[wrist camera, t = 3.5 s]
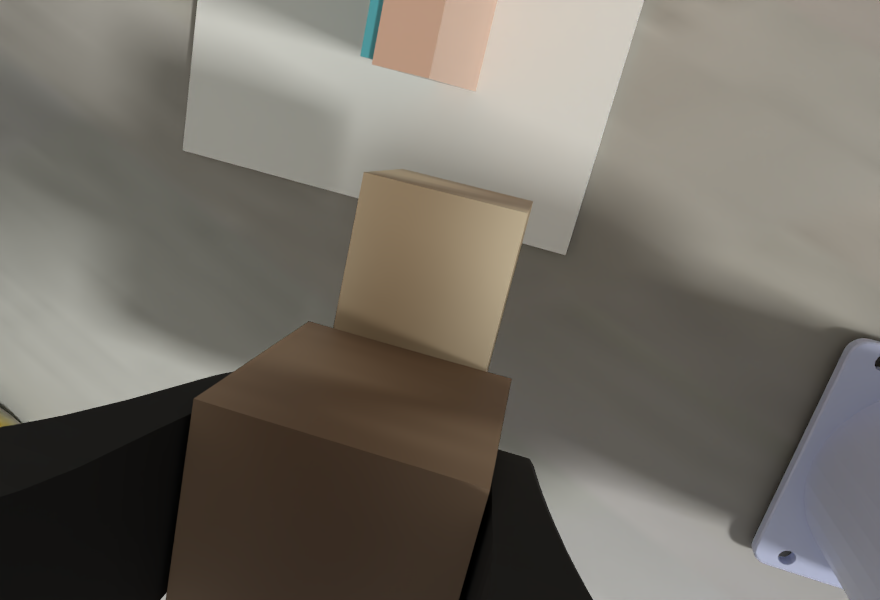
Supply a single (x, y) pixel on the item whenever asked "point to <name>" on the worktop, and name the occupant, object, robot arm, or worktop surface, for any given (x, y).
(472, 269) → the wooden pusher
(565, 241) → the rubber mat
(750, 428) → the worktop surface
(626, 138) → the worktop surface
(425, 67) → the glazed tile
